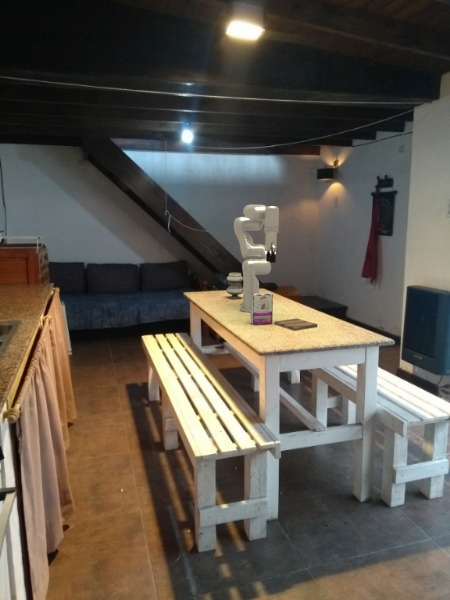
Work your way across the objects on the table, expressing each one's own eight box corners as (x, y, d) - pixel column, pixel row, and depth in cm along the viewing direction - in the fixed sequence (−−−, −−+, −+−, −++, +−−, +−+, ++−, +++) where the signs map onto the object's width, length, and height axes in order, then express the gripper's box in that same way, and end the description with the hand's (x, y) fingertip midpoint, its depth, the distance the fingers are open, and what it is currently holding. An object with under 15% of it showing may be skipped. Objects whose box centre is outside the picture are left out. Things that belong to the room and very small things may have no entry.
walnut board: (274, 324, 236) (274, 321, 236) (296, 320, 245) (296, 318, 245) (294, 330, 223) (294, 327, 223) (317, 326, 232) (317, 324, 232)
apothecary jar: (224, 297, 317) (224, 272, 314) (240, 296, 321) (240, 272, 317) (229, 300, 306) (229, 274, 303) (245, 299, 309) (246, 274, 306)
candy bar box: (269, 322, 241) (270, 292, 238) (272, 324, 237) (273, 293, 234) (249, 322, 238) (250, 293, 236) (252, 325, 234) (253, 294, 231)
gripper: (261, 230, 244) (261, 261, 246) (267, 229, 226) (266, 263, 229) (275, 230, 244) (274, 261, 247) (281, 229, 227) (280, 263, 230)
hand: (270, 262), depth 238 cm, fingers open, 9 cm apart
